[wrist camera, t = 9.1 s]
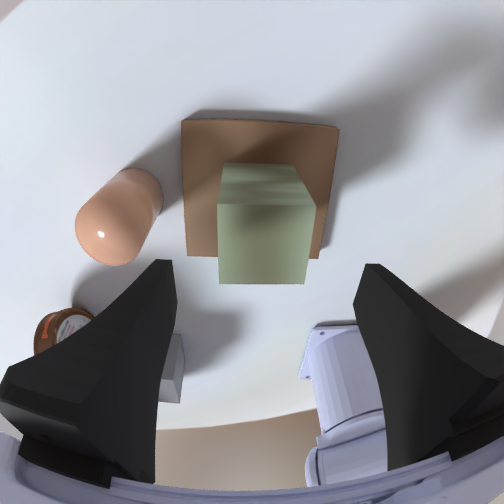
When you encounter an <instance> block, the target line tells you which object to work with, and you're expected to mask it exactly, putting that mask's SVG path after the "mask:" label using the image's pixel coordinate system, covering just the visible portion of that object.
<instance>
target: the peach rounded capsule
mask: <svg viewBox="0 0 504 504" xmlns="http://www.w3.org/2000/svg"><path fill="white" fill-rule="evenodd" d="M162 205H163V192H162V188H161V186H160V184H159V182H158V181H157V180H156V179H155V178H154V177H153V176H152V175H151V174H150V173H148V172H146V171H144V170H141V169H137V168H129V169H125V170H122V171H120V172H119V173H117V174H116V175H115V176H114V177H113V178H112V179H111V180H109V181H108V182H107V183H106V184H105V185H104V186H103V187H102V188H101V189H100V190H99V191H98V192H97V193H96V194H95V195H94V196H93V197H92V198H90V199H89V200H88V201H87V202H86V203H85V204H84V205H83V206H82V208H81V209H80V210H79V212H78V214H77V216H76V220H75V232H76V236H77V239H78V241H79V243H80V245H81V247H82V248H83V249H84V251H85V252H86V253H87V254H88V255H89V256H90V257H92V258H93V259H95V260H96V261H98V262H100V263H103V264H106V265H111V266H119V265H124V264H127V263H129V262H131V261H132V260H133V259H134V258H136V256H137V255H138V253H139V252H140V250H141V248H142V246H143V244H144V242H145V240H146V238H147V236H148V234H149V232H150V230H151V228H152V226H153V224H154V222H155V220H156V218H157V216H158V214H159V212H160V211H161V208H162Z"/></svg>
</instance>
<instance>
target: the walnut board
mask: <svg viewBox="0 0 504 504" xmlns="http://www.w3.org/2000/svg"><path fill="white" fill-rule="evenodd" d="M181 135H182V175H183V198H184V216H185V232H186V246H187V256H204V257H218V229H217V201H218V195H219V190H220V184H221V178H222V172H223V167H224V163H261V164H286V165H293V166H294V167H295V169H296V171H297V173H298V174H299V176H300V178H301V180H302V181H303V183H304V185H305V187H306V189H307V190H308V192H309V194H310V196H311V198H312V199H313V201H314V203H315V205H316V213H315V220H314V227H313V234H312V240H311V246H310V253H309V259H318V257H319V252H320V247H321V242H322V236H323V231H324V226H325V220H326V214H327V209H328V203H329V197H330V191H331V184H332V178H333V172H334V165H335V158H336V151H337V144H338V136H339V129H338V128H336V127H331V126H323V125H315V124H305V123H294V122H282V121H266V120H245V119H184V120H182V121H181Z"/></svg>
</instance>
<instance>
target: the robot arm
mask: <svg viewBox="0 0 504 504" xmlns="http://www.w3.org/2000/svg"><path fill="white" fill-rule="evenodd" d="M353 307H354V311H355V316H356V320H357V324H358V325H350V326H329V327H315V328H313V329H312V330H311V333H310V337H309V340H308V344H307V347H306V351H305V354H304V358H303V361H302V365H301V368H300V371H299V375H298V377H299V379H301V380H307V379H312V384H313V389H314V394H315V400H316V405H317V410H318V416H319V421H320V427H321V432H322V435H320V436H317V444H318V447H314V448H312V450H311V451H310V453H309V455H308V457H307V459H306V464H305V475H306V483H307V487H303V488H293V489H281V490H262V491H218V490H199V489H187V488H177V487H169V486H161V485H154V484H153V483H155V438H156V437H155V436H156V421H157V408H158V398H159V390H160V383H161V377H162V373H163V369H164V365H165V361H166V357H167V353H168V349H169V345H170V341H171V337H172V333H173V329H174V324H175V317H176V310H177V296H176V289H175V281H174V273H173V265H172V260H163V259H156V260H155V261H154V262H153V263H152V264H150V265H149V267H148V268H147V269H146V270H145V271H144V272H143V273H142V274H141V275H140V276H139V277H138V278H137V279H136V280H135V281H134V282H133V283H132V284H131V285H130V286H129V287H128V288H127V289H126V290H125V291H124V292H123V293H122V294H121V295H120V296H119V297H118V298H117V299H116V300H115V301H113V302H112V303H111V304H110V305H109V306H108V307H107V308H106V309H105V310H104V311H102V312H101V313H100V314H99V315H97V316H96V317H95V318H94V319H92V320H91V321H90V322H88V323H87V324H86V325H84V326H83V327H82V328H80V329H79V330H77V331H76V332H74V333H73V334H71V335H70V336H68V337H67V338H65V339H64V340H62V341H60V342H59V343H57V344H55V345H53V346H52V347H50V348H48V349H46V350H44V351H42V352H41V353H39V354H37V355H35V356H33V357H30V358H28V359H26V360H23V361H21V362H19V363H17V364H14V365H12V366H9V367H8V369H7V371H6V373H5V375H4V377H3V379H2V381H1V384H0V413H1V414H2V415H3V416H4V417H5V418H6V419H7V420H8V421H9V422H10V423H11V424H12V425H13V426H14V427H16V428H17V429H18V430H19V431H20V432H21V433H22V434H23V438H22V441H19V440H17V439H16V438H14V437H12V436H10V435H8V434H6V433H4V432H2V431H0V504H488V503H490V502H491V501H492V500H494V499H495V498H496V497H497V496H499V495H500V494H501V493H503V492H504V346H503V345H500V344H498V343H496V342H494V341H491V340H489V339H487V338H485V337H483V336H481V335H479V334H477V333H475V332H473V331H472V330H470V329H468V328H466V327H464V326H463V325H461V324H459V323H458V322H456V321H455V320H453V319H452V318H450V317H449V316H447V315H446V314H444V313H443V312H441V311H440V310H439V309H437V308H436V307H435V306H433V305H432V304H431V303H429V302H428V301H427V300H425V299H424V298H423V297H421V296H420V295H419V294H418V293H416V292H415V291H414V290H413V289H412V288H410V287H409V286H408V285H407V284H405V283H404V282H403V281H402V280H400V279H399V278H398V277H397V276H395V275H394V274H393V273H392V272H390V271H389V270H388V269H386V268H385V267H384V266H382V265H380V264H365V267H364V271H363V274H362V277H361V280H360V284H359V287H358V290H357V293H356V296H355V299H354V302H353Z"/></svg>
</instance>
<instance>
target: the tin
mask: <svg viewBox="0 0 504 504" xmlns="http://www.w3.org/2000/svg"><path fill="white" fill-rule="evenodd" d="M92 319H94V317H93V316H92V315H91V314H89V313H88V312H86V311H84V310H82V309H78V308H68V309H64V310H61V311H58V312H54V313H50V314H48V315H47V316H45V317H44V318H43V319H42V320H41V321H40V323H39V325H38V327H37V329H36V332H35V336H34V356H35V355H37V354H39V353H41V352H42V351H44V350H46V349H48V348H50V347H52V346H53V345H55V344H57V343H59V342H60V341H62V340H64V339H65V338H67V337H68V336H70V335H71V334H73V333H74V332H76V331H77V330H79V329H80V328H82V327H83V326H84V325H86V324H87V323H88V322H90V321H91V320H92Z"/></svg>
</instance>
